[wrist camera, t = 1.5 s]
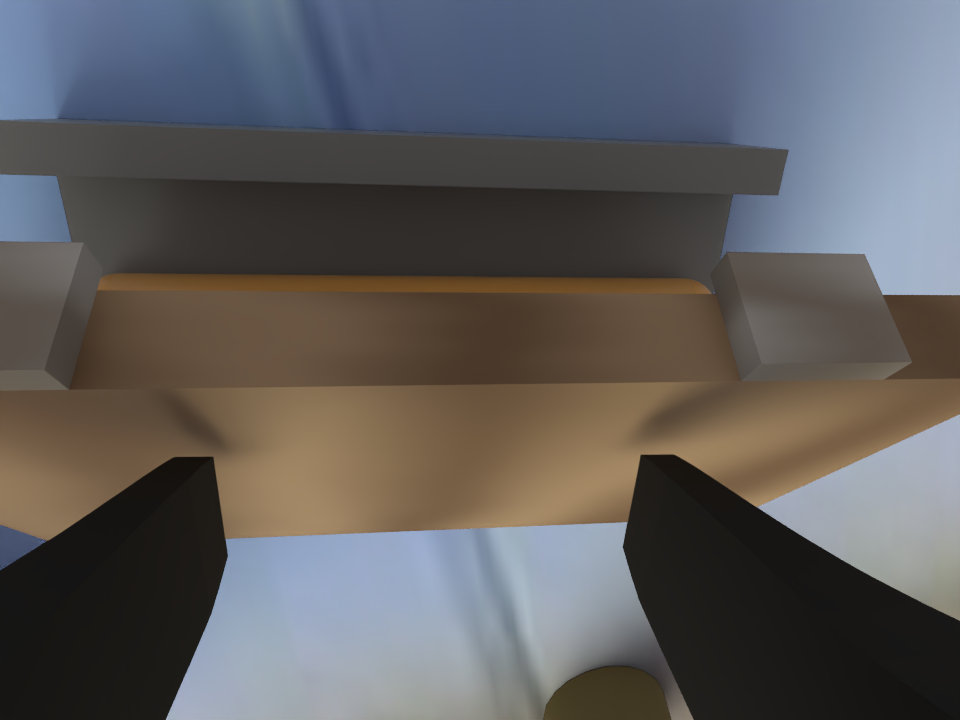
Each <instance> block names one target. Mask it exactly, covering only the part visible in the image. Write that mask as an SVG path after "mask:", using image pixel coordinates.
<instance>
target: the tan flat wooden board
mask: <svg viewBox="0 0 960 720" xmlns="http://www.w3.org/2000/svg"><path fill="white" fill-rule="evenodd" d="M102 271H103V267H102V266H101V265H100V263H99V262H98V261H97V259H96V258H95V257H94V256H93V254H92V253H91V252H90V250H89V249H88V248H87V247H86V245H85V244H84V243H73V242H5V241H0V525H3V526H6V527H9V528H11V529H14V530H17V531H20V532H23V533H26V534H29V535H32V536H35V537H38V538H41V539H44V540H47V541H48V540H50V539H51V538H53V537H55V536H56V535H58V534H59V533H61V532H62V531H64V530H65V529H67V528H68V527H70V526H71V525H73V524H74V523H76V522H77V521H79V520H80V519H82V518H83V517H85V516H86V515H88V514H89V513H91V512H92V511H94V510H95V509H96V508H98V507H99V506H101V505H102V504H104V503H105V502H107V501H108V500H110V499H111V498H113V497H114V496H116V495H117V494H118V493H120V492H121V491H123V490H124V489H126V488H127V487H129V486H130V485H132V484H133V483H134V482H136V481H137V480H139V479H140V478H142V477H143V476H145V475H146V474H148V473H149V472H151V471H152V470H154V469H155V468H157V467H158V466H160V465H161V464H163V463H165V462H166V461H168V460H170V459H171V458H173V457H214V464H215V471H216V478H217V485H218V492H219V499H220V506H221V513H222V520H223V526H224V533H225V539H229V538H253V537H277V536H301V535H325V534H349V533H374V532H398V531H422V530H446V529H470V528H494V527H519V526H543V525H567V524H591V523H615V522H628V518H629V513H630V508H631V503H632V498H633V492H634V487H635V482H636V477H637V472H638V466H639V461H640V456H641V455H657V454H674V455H676V456H678V457H680V458H682V459H683V460H685V461H687V462H688V463H690V464H692V465H693V466H695V467H696V468H698V469H700V470H701V471H703V472H704V473H706V474H707V475H709V476H710V477H712V478H713V479H715V480H716V481H718V482H719V483H721V484H722V485H724V486H725V487H727V488H728V489H730V490H731V491H733V492H734V493H736V494H737V495H739V496H740V497H742V498H743V499H745V500H746V501H748V502H749V503H751V504H752V505H754V506H755V507H758V506H760V505H762V504H765V503H767V502H769V501H771V500H773V499H775V498H778V497H780V496H782V495H784V494H786V493H789V492H791V491H793V490H795V489H797V488H800V487H802V486H804V485H806V484H808V483H810V482H813V481H815V480H817V479H819V478H821V477H824V476H826V475H828V474H830V473H832V472H834V471H837V470H839V469H841V468H843V467H845V466H848V465H850V464H852V463H854V462H856V461H859V460H861V459H863V458H865V457H867V456H869V455H872V454H874V453H876V452H878V451H880V450H883V449H885V448H887V447H889V446H891V445H893V444H896V443H898V442H900V441H902V440H904V439H907V438H909V437H911V436H913V435H915V434H918V433H920V432H922V431H924V430H926V429H928V428H931V427H933V426H935V425H937V424H939V423H942V422H944V421H946V420H948V419H950V418H953V417H955V416H957V415H959V414H960V295H882V293H881V290H880V288H879V286H878V284H877V281H876V279H875V277H874V275H873V272H872V270H871V268H870V266H869V263H868V261H867V259H866V257H865V254H820V253H752V252H727V253H726V254H725V255H724V257H723V258H722V259H721V261H720V262H719V263H718V265H717V266H716V267H715V268H714V270H713V271H712V272H711V274H710V275H711V279H712V282H713V286H714V289H715V293H716V294H634V293H464V292H294V291H124V290H97V288H98V285H99V281H100V278H101V274H102Z"/></svg>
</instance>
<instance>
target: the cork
mask: <svg viewBox="0 0 960 720" xmlns="http://www.w3.org/2000/svg"><path fill="white" fill-rule="evenodd" d="M543 720H671V717H670V713H669V710H668V706H667V703H666V699H665V696H664V692H663V689H662V688H661V686H660V685H659V683H658V682H657V680H656V679H655V678H654V677H652V676H651V675H649V674H647V673H646V672H644V671H643V670H639V669H635V668H630V667H626V666H617V667H603V668H599V669H595V670H591V671H587V672H585V673H583V674H581V675H579V676H577V677H575V678H573V679H571V680H569V681H568V682H567V683H565V684H564V685H563V686H562V687H561V688H560V689H558V690H557V691H556V692H555V693H554V695H553V696H552V698H551V699H550V701H549V702H548V704H547V705H546V709H545V714H544V718H543Z"/></svg>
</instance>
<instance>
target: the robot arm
mask: <svg viewBox="0 0 960 720" xmlns="http://www.w3.org/2000/svg"><path fill="white" fill-rule="evenodd" d="M623 549H624V552H625V556H626V559H627V563H628V566H629V570H630V573H631V576H632V579H633V583H634V586H635V589H636V592H637V595H638V598H639V601H640V603H641V605H642V608H643V610H644V612H645V614H646V617H647V619H648V621H649V623H650V626H651V628H652V630H653V632H654V634H655V637H656V639H657V641H658V643H659V645H660V648H661V650H662V652H663V654H664V656H665V658H666V661H667V663H668V665H669V667H670V669H671V671H672V674H673V676H674V678H675V680H676V682H677V684H678V687H679V689H680V691H681V693H682V695H683V697H684V700H685V702H686V704H687V706H688V708H689V710H690V713H691V715H692V717H693V719H694V720H960V621H959V620H957V619H955V618H953V617H950V616H948V615H946V614H944V613H942V612H940V611H938V610H936V609H934V608H932V607H929V606H927V605H925V604H923V603H921V602H919V601H918V600H916V599H914V598H912V597H910V596H908V595H906V594H904V593H902V592H900V591H898V590H896V589H894V588H892V587H890V586H888V585H887V584H885V583H883V582H881V581H879V580H877V579H875V578H873V577H871V576H869V575H868V574H866V573H864V572H862V571H860V570H859V569H857V568H855V567H853V566H851V565H850V564H848V563H846V562H844V561H843V560H841V559H839V558H838V557H836V556H834V555H833V554H831V553H829V552H827V551H826V550H824V549H822V548H821V547H819V546H817V545H816V544H814V543H812V542H811V541H809V540H807V539H806V538H804V537H802V536H801V535H799V534H798V533H796V532H794V531H793V530H791V529H790V528H788V527H786V526H785V525H783V524H782V523H780V522H779V521H777V520H775V519H774V518H772V517H771V516H769V515H768V514H766V513H765V512H763V511H762V510H760V509H759V508H757V507H755V506H754V505H752V504H751V503H749V502H748V501H746V500H745V499H743V498H742V497H740V496H739V495H737V494H736V493H734V492H733V491H731V490H730V489H728V488H727V487H725V486H724V485H722V484H721V483H719V482H718V481H716V480H715V479H713V478H712V477H710V476H709V475H707V474H706V473H704V472H703V471H701V470H700V469H698V468H696V467H695V466H693V465H692V464H690V463H688V462H687V461H685V460H683V459H682V458H680V457H678V456H676V455H674V454H657V455H641V456H640V461H639V466H638V472H637V477H636V482H635V487H634V492H633V498H632V503H631V508H630V513H629V518H628V523H627V529H626V534H625V539H624V544H623ZM227 557H228V554H227V547H226V540H225V533H224V526H223V520H222V513H221V506H220V499H219V492H218V485H217V478H216V471H215V464H214V457H173V458H171V459H170V460H168V461H166V462H165V463H163V464H161V465H160V466H158V467H157V468H155V469H154V470H152V471H151V472H149V473H148V474H146V475H145V476H143V477H142V478H140V479H139V480H137V481H136V482H134V483H133V484H132V485H130V486H129V487H127V488H126V489H124V490H123V491H121V492H120V493H118V494H117V495H116V496H114V497H113V498H111V499H110V500H108V501H107V502H105V503H104V504H102V505H101V506H99V507H98V508H96V509H95V510H94V511H92V512H91V513H89V514H88V515H86V516H85V517H83V518H82V519H80V520H79V521H77V522H76V523H74V524H73V525H71V526H70V527H68V528H67V529H65V530H64V531H62V532H61V533H59V534H58V535H56V536H55V537H53V538H51V539H50V540H48V541H47V542H45V543H43V544H42V545H40V546H39V547H37V548H35V549H34V550H32V551H31V552H29V553H27V554H26V555H24V556H23V557H21V558H20V559H18V560H16V561H15V562H13V563H12V564H10V565H8V566H7V567H5V568H4V569H2V570H0V720H166V718H167V715H168V713H169V711H170V708H171V706H172V704H173V701H174V699H175V697H176V695H177V692H178V690H179V688H180V685H181V683H182V681H183V679H184V676H185V674H186V672H187V670H188V667H189V665H190V663H191V660H192V658H193V656H194V653H195V651H196V649H197V646H198V644H199V642H200V639H201V637H202V635H203V632H204V630H205V628H206V625H207V623H208V620H209V618H210V616H211V613H212V609H213V606H214V603H215V600H216V596H217V593H218V590H219V586H220V583H221V579H222V575H223V572H224V568H225V564H226V561H227Z"/></svg>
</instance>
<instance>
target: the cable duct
mask: <svg viewBox="0 0 960 720" xmlns="http://www.w3.org/2000/svg"><path fill="white" fill-rule="evenodd" d="M787 154H788V150H785V149H775V148H766V147H756V146H746V145H736V144H714V143H687V142H661V141H634V140H608V139H581V138H554V137H528V136H501V135H474V134H448V133H421V132H395V131H368V130H341V129H315V128H288V127H262V126H235V125H208V124H182V123H155V122H128V121H102V120H75V119H20V120H0V174H9V175H46V176H57V179H58V183H59V188H60V192H61V196H62V201H63V205H64V210H65V214H66V218H67V223H68V227H69V231H70V236H71V240H72V242H73V243H84V244H85V245H86V247H87V248H88V249H89V250H90V252H91V253H92V254H93V256H94V257H95V258H96V259H97V261H98V262H99V263H100V265H101V266H102V267H103V271H102V274H101V278H100V281H99V285H98V288H97V290H124V291H294V292H464V293H634V294H713V292H714V286H713V282H712V279H711V275H710V274H711V272H712V271H713V270H714V268H715V267H716V266H717V265H718V263H719V261H720V256H721V251H722V246H723V241H724V236H725V231H726V226H727V221H728V216H729V211H730V206H731V201H732V196H733V194H749V195H778V193H779V189H780V185H781V180H782V176H783V171H784V167H785V163H786V158H787Z"/></svg>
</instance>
